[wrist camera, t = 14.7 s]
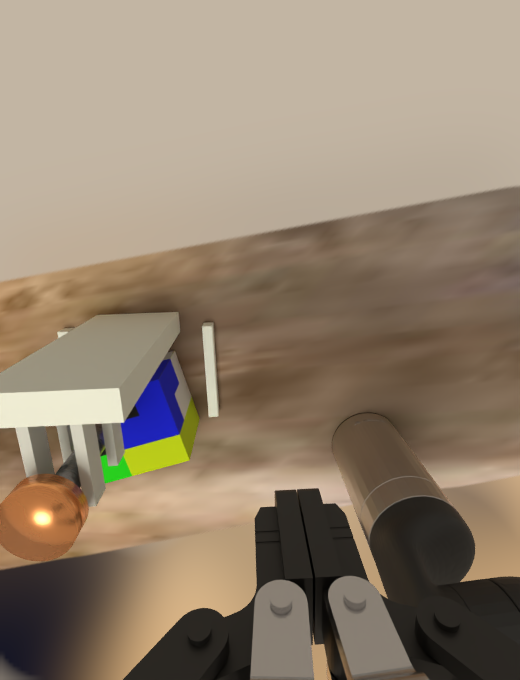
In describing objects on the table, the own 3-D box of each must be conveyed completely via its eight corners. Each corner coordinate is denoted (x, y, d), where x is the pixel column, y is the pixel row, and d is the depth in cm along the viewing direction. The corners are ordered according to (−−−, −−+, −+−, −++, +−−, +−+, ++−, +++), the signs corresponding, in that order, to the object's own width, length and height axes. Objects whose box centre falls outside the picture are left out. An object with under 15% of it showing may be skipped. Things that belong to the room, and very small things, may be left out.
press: (219, 409, 53) (198, 551, 30) (80, 415, 52) (-51, 565, 29) (212, 310, 49) (183, 385, 26) (62, 316, 49) (-103, 397, 26)
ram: (144, 432, 40) (82, 559, 25) (94, 434, 40) (1, 563, 25) (138, 387, 39) (69, 491, 24) (87, 389, 39) (-17, 495, 24)
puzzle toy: (174, 350, 50) (158, 379, 41) (199, 418, 53) (189, 460, 44) (100, 371, 51) (67, 404, 41) (129, 437, 54) (103, 483, 44)
